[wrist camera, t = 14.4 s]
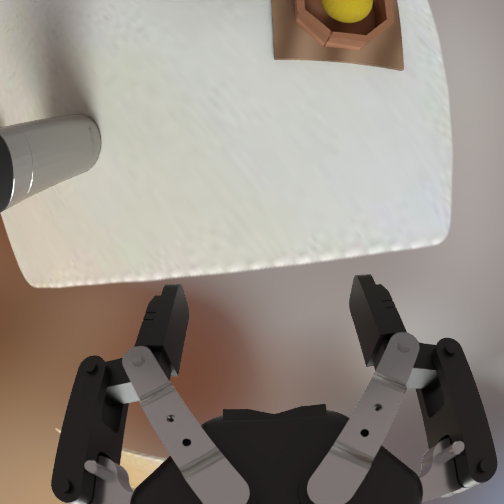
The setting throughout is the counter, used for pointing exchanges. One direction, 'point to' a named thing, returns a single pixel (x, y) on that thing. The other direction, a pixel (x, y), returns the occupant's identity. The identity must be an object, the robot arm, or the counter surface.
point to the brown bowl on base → (337, 34)
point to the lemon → (347, 9)
